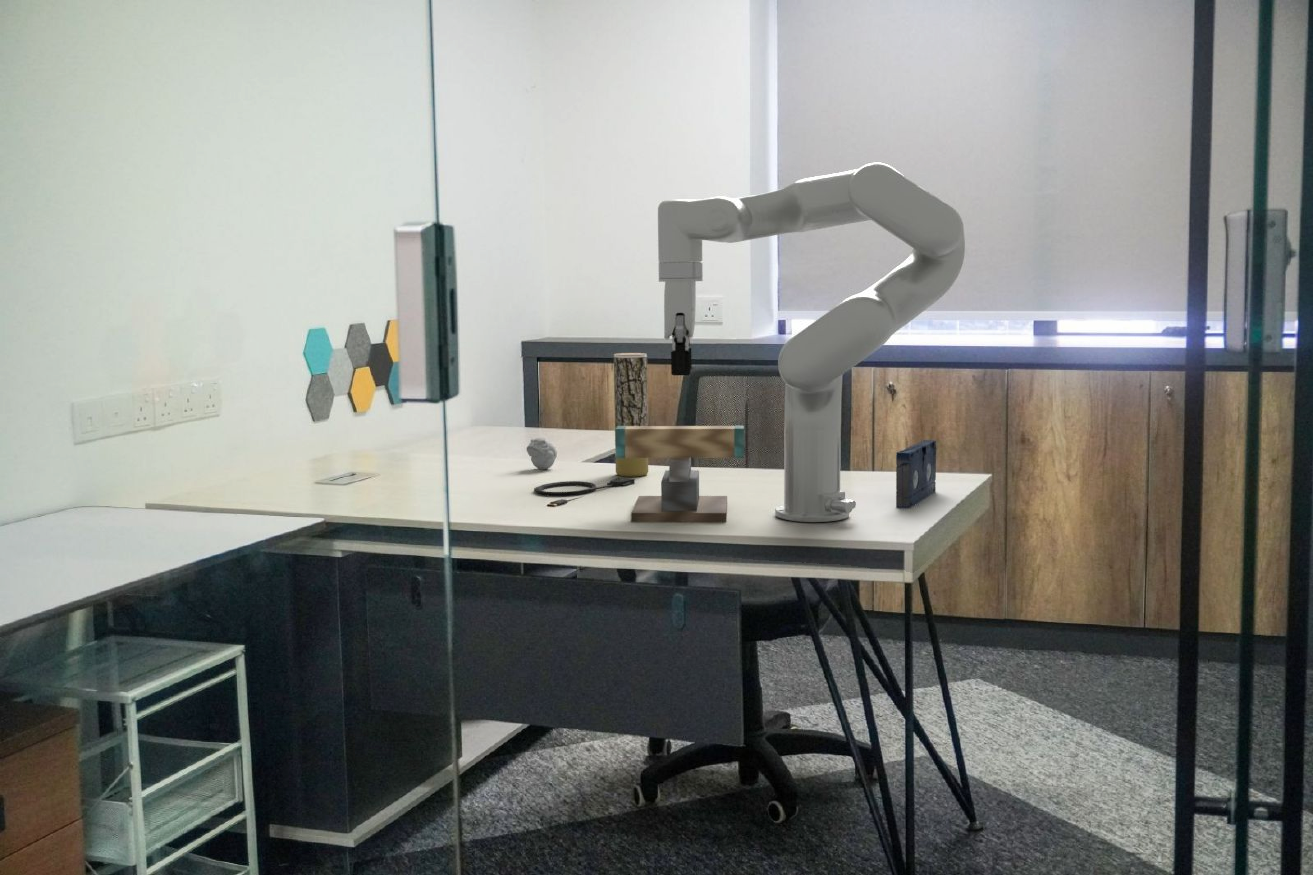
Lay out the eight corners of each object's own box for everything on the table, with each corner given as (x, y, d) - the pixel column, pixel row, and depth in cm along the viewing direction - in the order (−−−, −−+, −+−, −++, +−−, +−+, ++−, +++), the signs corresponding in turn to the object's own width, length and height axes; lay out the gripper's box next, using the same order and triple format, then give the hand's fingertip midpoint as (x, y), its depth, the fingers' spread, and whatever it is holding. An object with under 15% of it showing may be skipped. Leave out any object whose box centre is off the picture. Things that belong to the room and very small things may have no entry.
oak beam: (743, 454, 221) (743, 425, 220) (743, 458, 217) (743, 428, 216) (618, 454, 222) (617, 425, 222) (616, 458, 218) (615, 428, 218)
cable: (495, 503, 235) (495, 495, 235) (580, 480, 259) (580, 473, 258) (555, 510, 228) (555, 501, 228) (636, 486, 252) (636, 478, 252)
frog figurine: (520, 470, 269) (519, 437, 268) (543, 466, 275) (543, 434, 274) (540, 473, 265) (540, 440, 265) (564, 468, 271) (563, 436, 270)
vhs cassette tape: (923, 491, 240) (923, 439, 238) (938, 492, 238) (939, 440, 237) (892, 508, 224) (893, 452, 222) (909, 509, 222) (909, 453, 221)
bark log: (644, 477, 258) (643, 355, 254) (612, 477, 259) (610, 355, 256) (651, 472, 264) (650, 353, 261) (619, 471, 266) (617, 352, 262)
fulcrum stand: (727, 504, 228) (727, 449, 227) (726, 521, 213) (725, 463, 211) (638, 504, 230) (638, 449, 228) (631, 521, 214) (630, 463, 212)
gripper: (660, 273, 225) (662, 369, 227) (656, 273, 208) (657, 377, 210) (703, 272, 225) (704, 368, 227) (701, 272, 208) (702, 377, 210)
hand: (681, 372), depth 219 cm, fingers open, 9 cm apart
